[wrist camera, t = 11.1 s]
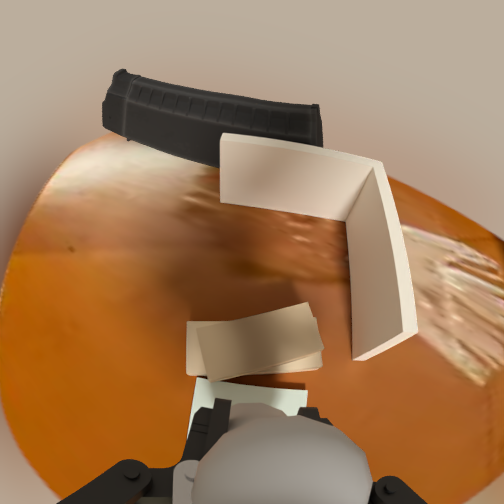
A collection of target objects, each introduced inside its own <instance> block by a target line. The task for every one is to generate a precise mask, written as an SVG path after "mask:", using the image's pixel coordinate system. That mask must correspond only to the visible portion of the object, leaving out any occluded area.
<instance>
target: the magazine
mask: <svg viewBox="0 0 504 504" xmlns="http://www.w3.org/2000/svg"><path fill="white" fill-rule="evenodd" d="M102 117H103V118H102V120H103V127H105V128H106V129H108V130H110V131H112V132H114V133H117V134H119V135H121V136H123V137H126V138H127V141H129V140H133V141H136V142H139V143H141V144H144V145H147V146H149V147H152V148H155V149H157V150H160V151H163V152H166V153H169V154H172V155H175V156H178V157H181V158H184V159H188V160H191V161H195V162H198V163H202V164H206V165H209V166H213V167H217V168H220V139H221V136H222V134H223V133H230V134H239V135H247V136H255V137H263V138H270V139H277V140H283V141H289V142H295V143H301V144H306V145H311V146H317V147H322V148H323V134H322V120H321V116H320V108H319V105H318V104H312V105H304V104H290V103H282V102H273V101H267V100H260V99H254V98H249V97H244V96H238V95H232V94H225V93H218V92H211V91H205V90H199V89H194V88H189V87H184V86H179V85H174V84H169V83H165V82H161V81H157V80H153V79H149V78H145V77H141V76H140V75H133V74H130V73H128V72H127V71H126V69H120V70H119V71H117V72H115V73H114V75H113V80H112V84H111V86H110V87H109V89H108V90H107V94H106V98H105V100H104V101H103V103H102Z"/></svg>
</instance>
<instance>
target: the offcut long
mask: <svg viewBox="0 0 504 504" xmlns="http://www.w3.org/2000/svg"><path fill="white" fill-rule="evenodd" d="M314 321H315V324H316V326H317V320H316V317H314ZM224 322H228V321H187V338H186V373H187V374H188V375H189V376H207V374H206V370H205V366H204V362H203V358H202V353H201V349H200V345H199V340H198V336H197V331H196V328H200V327H205V326H210V325H214V324H219V323H224ZM317 329H318V327H317ZM321 367H323V365H322V357H321V351H320V352H318V353H317V354H315V355H312V356H309V357H306V358H303V359H300V360H296V361H293V362H290V363H286V364H283V365H280V366H276V367H273V368H269V369H265V370H262V371H258V372H254V373H250V374H246V375H261V374H277V373H289V372H300V371H309V370H317V369H319V368H321Z"/></svg>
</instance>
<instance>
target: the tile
mask: <svg viewBox="0 0 504 504" xmlns="http://www.w3.org/2000/svg"><path fill="white" fill-rule="evenodd" d="M307 392H308V390H292V389H279V388H268V387H259V386H250V385H242V384H235V383H228V382H222V381H216V382H211V383H210V382H209V381H208V379H204V378H198V377H197V380H196V386H195V391H194V397H193V404H192V410H191V416H190V422H189V429H188V434H189V431H190V427H191V424H192V420H193V417H194V413H195V412H196V411H198V410H199V409H200V408H201V407H207V408H212V409H213V405H214V401H215V398H221V399H227V400H232V402H231V406H233V405H235V404H237V403H259V402H261V403H264V404H266V405H269V406H272V407H274V408H277V409H279V410H282V411H283V412H284V413H285V414H286V415H287V416H295V415H297V413H298V410H299V408H300V407H306V404H307ZM187 438H188V435H187Z"/></svg>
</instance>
